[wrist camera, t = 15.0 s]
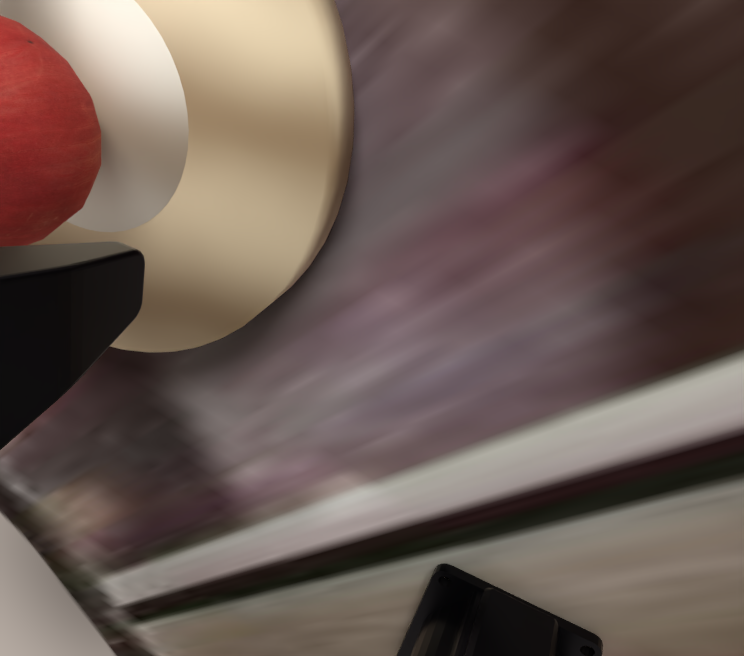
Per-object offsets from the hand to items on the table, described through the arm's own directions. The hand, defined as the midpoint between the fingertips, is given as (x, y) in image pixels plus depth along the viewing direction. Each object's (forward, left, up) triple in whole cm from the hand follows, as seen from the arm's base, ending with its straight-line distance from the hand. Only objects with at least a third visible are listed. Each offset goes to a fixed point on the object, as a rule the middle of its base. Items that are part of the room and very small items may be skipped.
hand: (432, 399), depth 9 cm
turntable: (-2, +13, -12) cm, 18 cm away
